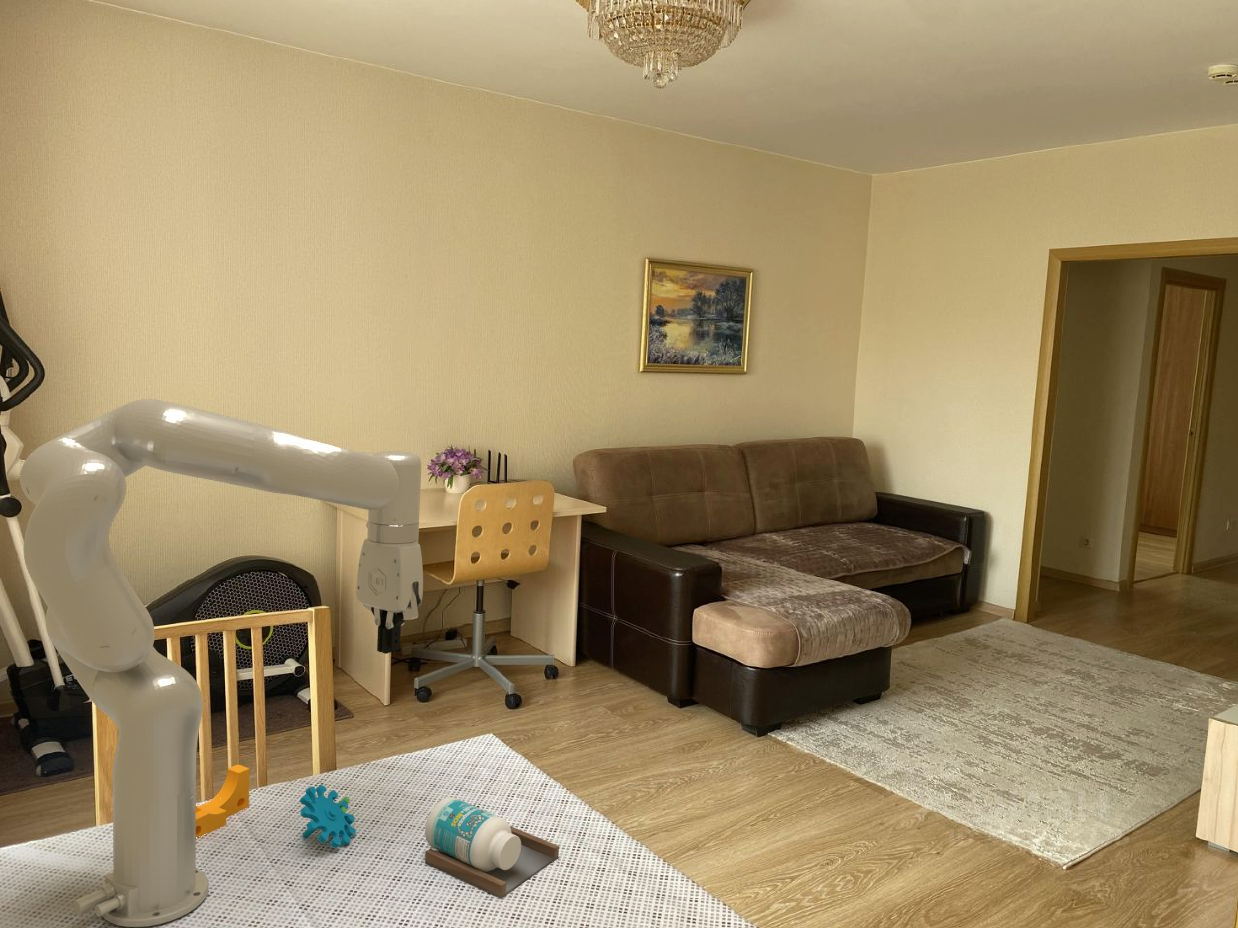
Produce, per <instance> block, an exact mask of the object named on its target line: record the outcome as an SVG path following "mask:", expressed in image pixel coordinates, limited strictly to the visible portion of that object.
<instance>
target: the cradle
mask: <svg viewBox="0 0 1238 928" xmlns="http://www.w3.org/2000/svg"><path fill="white" fill-rule="evenodd" d="M509 826H510V828H511V832H512V834H514V835H516V836H518V837H519V838H520V840H521V851H520V855H519V857H518V859H517V861H516V863H515V864H514V865H513V866H512V867H511V868H510V869H508V870H502V869H500V868H498V867H497V868H495V869H494V870H491V871H488V872H483V871H480V870H477V869H475V868H473V867H471V866H469V865H467V864H465V863H463V862H461V861H459V860H457V859H455V858H453V857H450V856H448V855H446V854H444V853H442V852H440V851H438V850H436V849H434V848H432V847H430V848H428V850H425V857H424V863H425V865H428V866H430V867H433V868H435V869H437V870H439V871H441V872H444V873H445V874H448V875H450V876H451V877H454V878H456V879H457V880H460V881H462V882H465V883H467V884H469V885H471V886H473V887H475V888H478V889H480V890H483V891H484V892H486V893H488V894H491V895H492V896H495V897H497V898H499V899H503V898H504V897H505V896H506V895H508V894H509V893H511V892H512V891H514V890H515V889H517V888H518V887H519V886H521V885H522V884H524V883H525V882H527V881H528V880H529V879H530V878H532V877H533V876H535V875H536V874H538V873H539V872H540V871H542V870H543V869H546V867H548V866H549V865H550V864H551V863H553V862H554V861H556V860H557V859H558V858H559V857H560V856H559V855H560V845H558V844H555V843H553V842H551V841H548V840H545V839H544V838H541V837H538V836H536V835H533V834H530V833H528V832H525V831H523V830H521V829H518V828H516V827H514V826H511V825H509ZM555 859H556V860H555ZM552 861H553V862H552Z"/></svg>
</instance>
